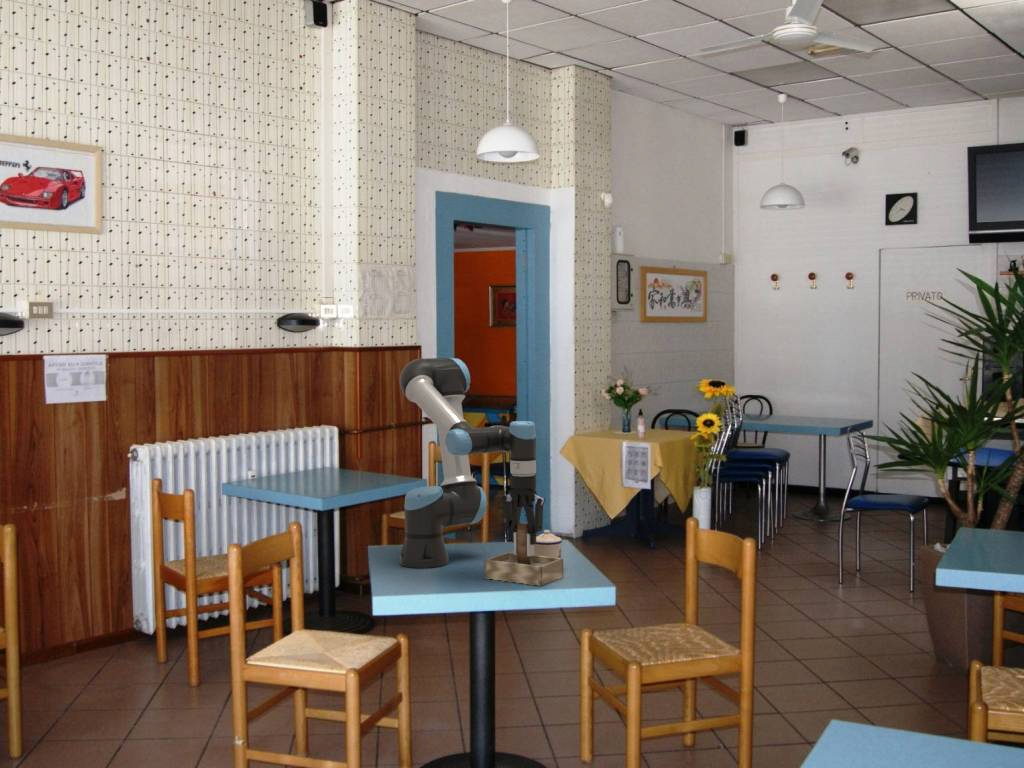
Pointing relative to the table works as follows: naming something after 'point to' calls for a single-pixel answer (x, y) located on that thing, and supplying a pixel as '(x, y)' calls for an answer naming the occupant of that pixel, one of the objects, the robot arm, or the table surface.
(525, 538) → the peg
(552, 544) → the teacup with lid
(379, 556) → the table surface
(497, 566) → the box with hole
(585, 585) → the table surface
